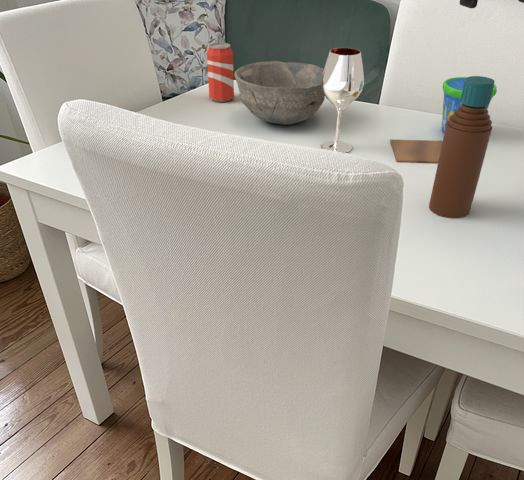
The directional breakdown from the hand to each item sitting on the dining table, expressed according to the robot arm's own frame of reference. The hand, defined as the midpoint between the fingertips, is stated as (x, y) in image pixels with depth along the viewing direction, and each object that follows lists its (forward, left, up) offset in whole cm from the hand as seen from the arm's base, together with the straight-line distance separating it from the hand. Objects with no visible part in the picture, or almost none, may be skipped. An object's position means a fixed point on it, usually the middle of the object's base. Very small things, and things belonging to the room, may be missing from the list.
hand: (497, 4), depth 77 cm
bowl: (+30, -42, -30) cm, 60 cm away
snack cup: (-9, -36, -30) cm, 48 cm away
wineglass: (+18, -26, -30) cm, 44 cm away
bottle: (0, 0, -30) cm, 30 cm away
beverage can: (+45, -56, -30) cm, 78 cm away
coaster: (+1, -25, -30) cm, 39 cm away
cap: (0, 0, -13) cm, 13 cm away
